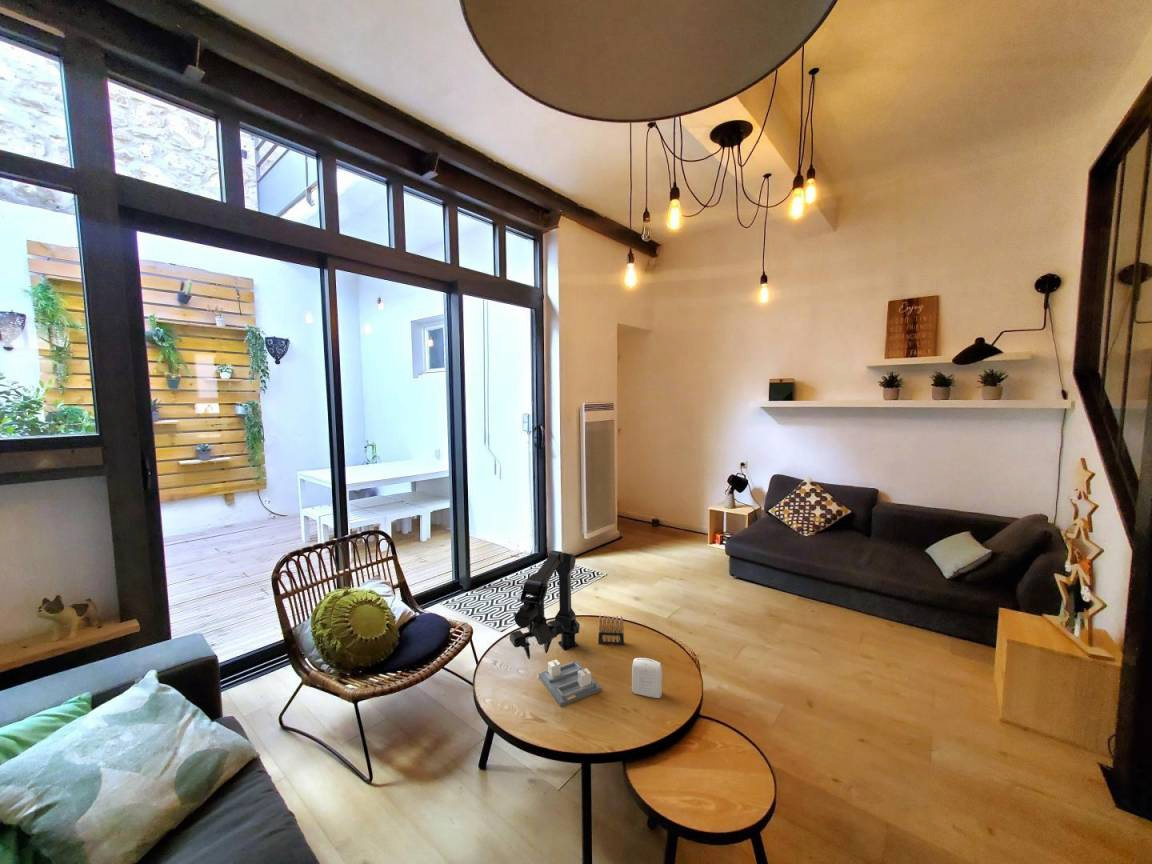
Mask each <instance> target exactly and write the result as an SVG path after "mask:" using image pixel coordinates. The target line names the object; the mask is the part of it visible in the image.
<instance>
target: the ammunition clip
mask: <svg viewBox="0 0 1152 864" xmlns="http://www.w3.org/2000/svg"><path fill="white" fill-rule="evenodd" d="M624 627H625V626H624V618H623V616H620V619H619V617H618V615H617V616H616V617H614V615H612V616H611V618H610V615H607V617H606V615H603V617H602V616H601V615H599V617H598V636H597V637H598V638H597V639H598V641H597V642H598V643H597V644H598V645H610V644H613V645H612V646H624V645H625V636H624V635H625V634H624V633H625V632H624Z"/></svg>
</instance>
